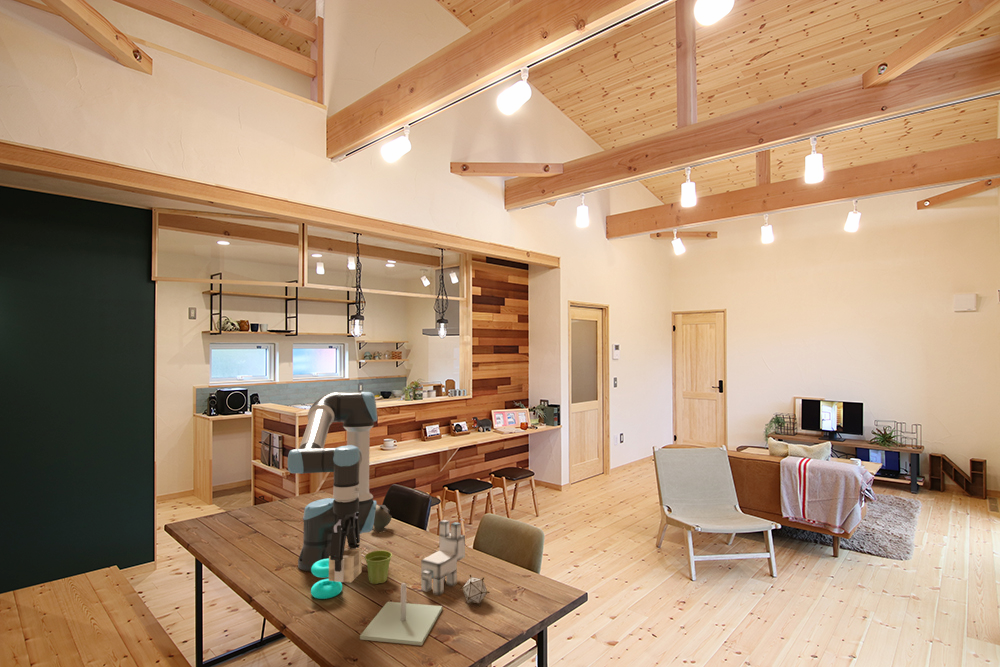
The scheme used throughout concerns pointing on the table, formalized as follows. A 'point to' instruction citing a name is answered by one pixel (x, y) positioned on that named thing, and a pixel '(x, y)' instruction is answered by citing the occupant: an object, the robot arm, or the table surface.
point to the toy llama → (443, 559)
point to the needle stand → (402, 622)
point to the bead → (348, 565)
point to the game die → (474, 590)
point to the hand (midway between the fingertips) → (345, 575)
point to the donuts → (324, 581)
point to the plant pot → (378, 565)
